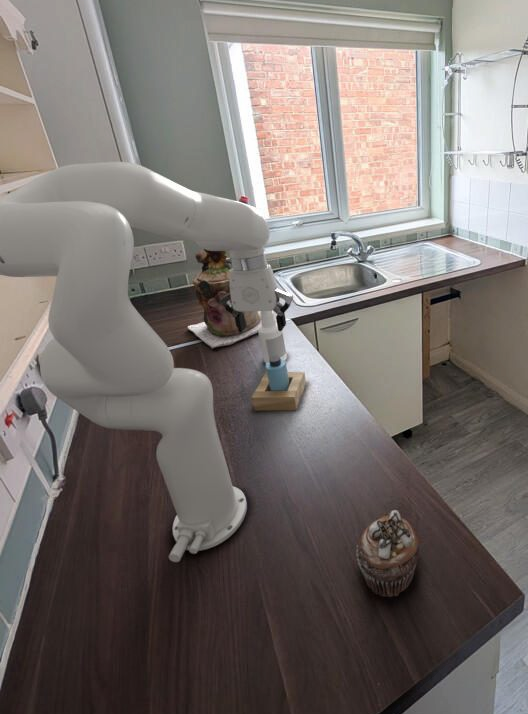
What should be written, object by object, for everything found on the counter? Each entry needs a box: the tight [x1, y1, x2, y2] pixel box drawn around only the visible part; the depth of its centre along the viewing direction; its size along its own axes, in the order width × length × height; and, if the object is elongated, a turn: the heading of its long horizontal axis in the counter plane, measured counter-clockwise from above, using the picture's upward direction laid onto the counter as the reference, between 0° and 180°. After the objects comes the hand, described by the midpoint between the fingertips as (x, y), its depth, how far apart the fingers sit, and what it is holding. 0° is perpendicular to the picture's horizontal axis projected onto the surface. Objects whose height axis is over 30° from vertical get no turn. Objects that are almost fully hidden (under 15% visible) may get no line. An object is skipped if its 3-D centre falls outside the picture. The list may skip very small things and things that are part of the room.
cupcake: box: [355, 509, 420, 598], centre depth 61 cm, size 10×10×10 cm
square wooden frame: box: [251, 371, 307, 412], centre depth 105 cm, size 11×11×4 cm
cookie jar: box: [187, 249, 277, 350], centre depth 138 cm, size 25×25×32 cm
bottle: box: [265, 356, 290, 391], centre depth 104 cm, size 5×5×12 cm
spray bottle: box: [257, 310, 288, 365], centre depth 119 cm, size 7×7×18 cm
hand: (262, 329), depth 97 cm, fingers open, 9 cm apart
